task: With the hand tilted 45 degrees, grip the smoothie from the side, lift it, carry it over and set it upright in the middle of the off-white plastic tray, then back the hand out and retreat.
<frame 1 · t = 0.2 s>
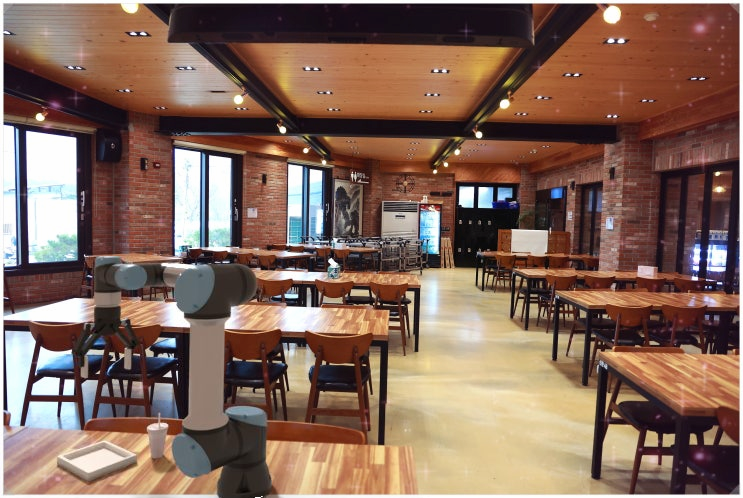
hand: (106, 372, 161), 27 cm above the table, tool pointing down, fingers open, 13 cm apart
tray: (97, 463, 159), on the table
smoothie: (157, 456, 165), on the table
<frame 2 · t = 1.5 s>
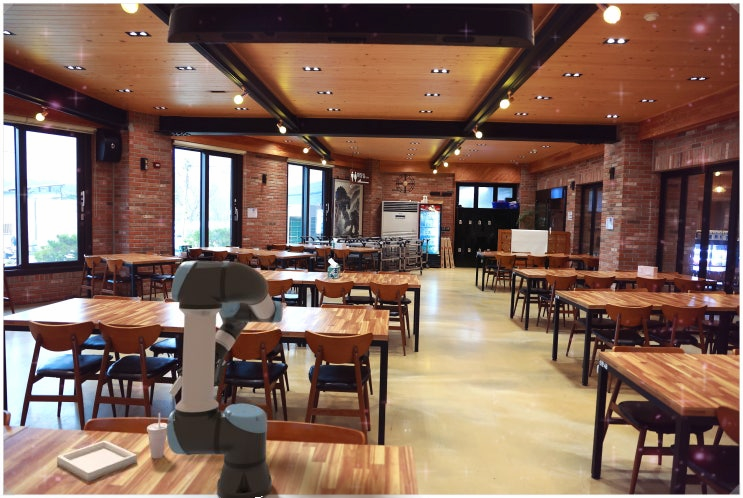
hand: (184, 398, 173), 16 cm above the table, tool tilted 45°, fingers open, 13 cm apart
nothing on the table moved.
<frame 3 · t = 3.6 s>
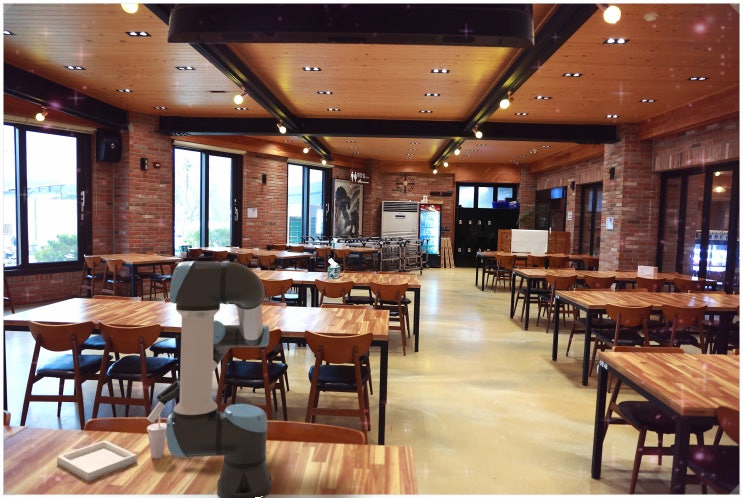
hand: (162, 426, 167), 9 cm above the table, tool tilted 45°, fingers open, 13 cm apart
nothing on the table moved.
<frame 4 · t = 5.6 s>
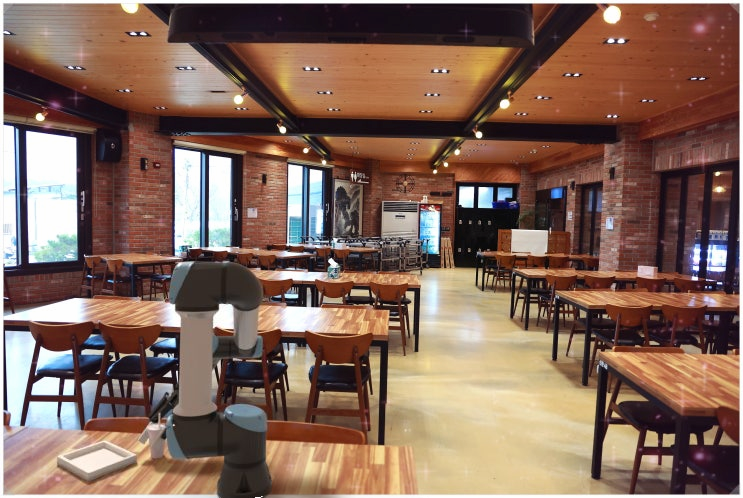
hand: (147, 444, 162), 5 cm above the table, tool tilted 45°, fingers closed on smoothie, 6 cm apart
smoothie: (157, 456, 165), on the table, touching gripper
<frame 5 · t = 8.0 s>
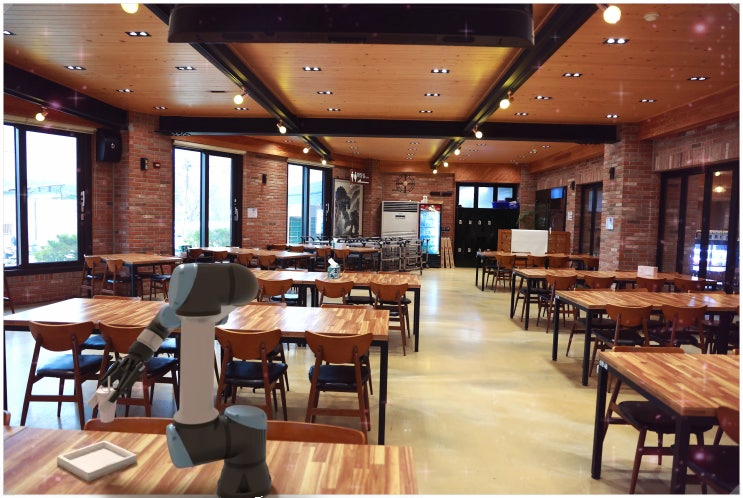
hand: (95, 408, 157), 18 cm above the table, tool tilted 45°, fingers closed on smoothie, 6 cm apart
smoothie: (107, 420, 160), point 13 cm above the table, touching gripper
when the fingers open (7 cm above the table, at t = 10.5 s): smoothie drops 1 cm, resting on tray.
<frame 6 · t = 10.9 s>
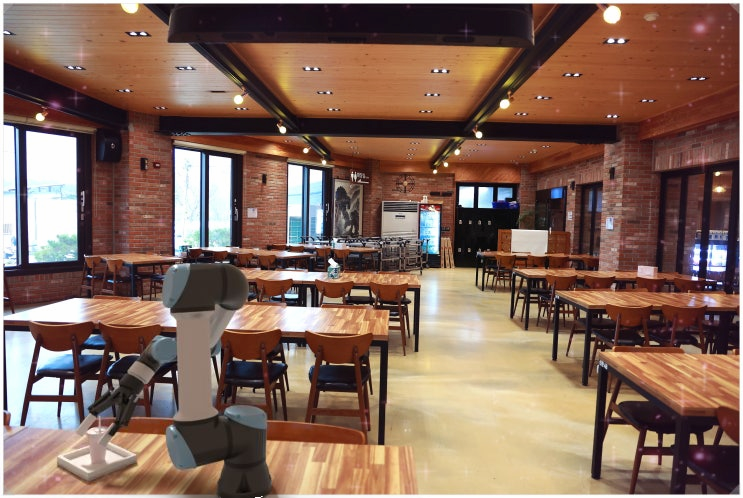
hand: (89, 439, 156), 8 cm above the table, tool tilted 45°, fingers open, 12 cm apart
smoothie: (98, 461, 159), point 1 cm above the table, touching tray
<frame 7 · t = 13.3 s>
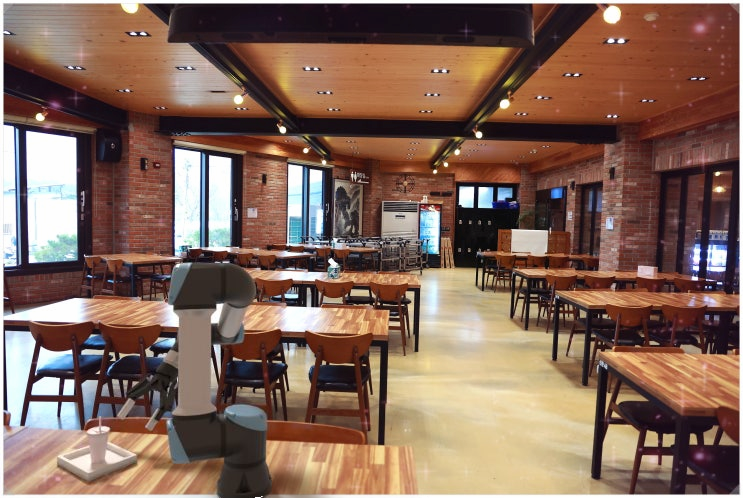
hand: (133, 423, 168), 9 cm above the table, tool tilted 40°, fingers open, 13 cm apart
nothing on the table moved.
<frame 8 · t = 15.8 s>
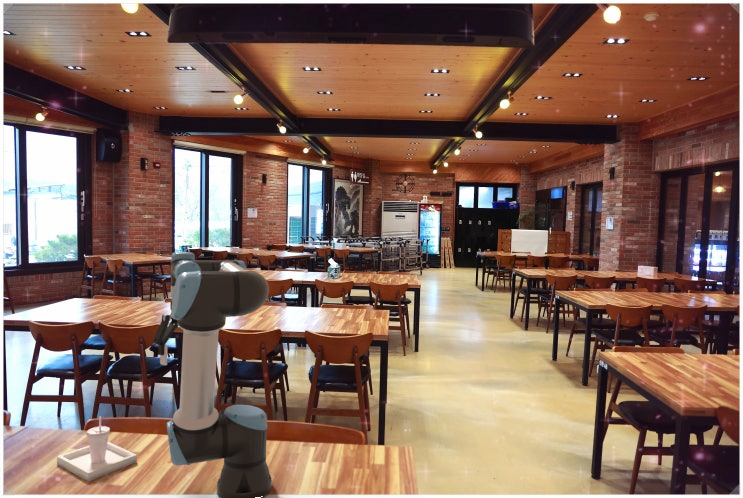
hand: (181, 360, 173), 29 cm above the table, tool pointing down, fingers open, 13 cm apart
nothing on the table moved.
at the end: smoothie inside the target area on the tray (0.3 cm from its centre), point 0.6 cm above the tray's base; smoothie tilted 0°; the gripper is holding nothing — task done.
